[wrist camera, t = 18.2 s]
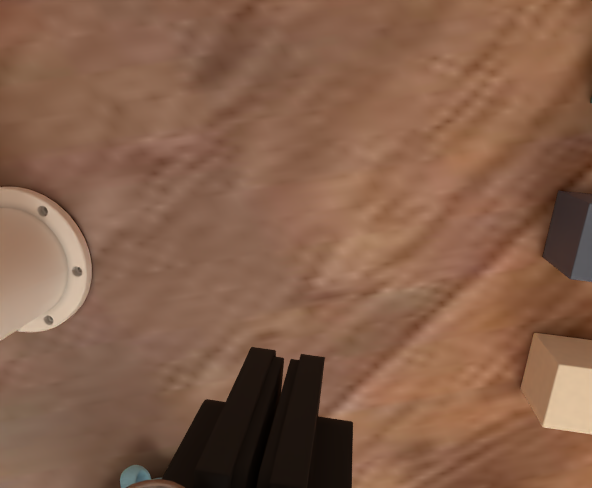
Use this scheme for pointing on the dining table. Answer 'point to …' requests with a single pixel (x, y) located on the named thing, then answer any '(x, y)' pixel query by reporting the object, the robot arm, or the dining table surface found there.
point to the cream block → (560, 382)
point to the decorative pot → (134, 475)
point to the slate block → (571, 236)
